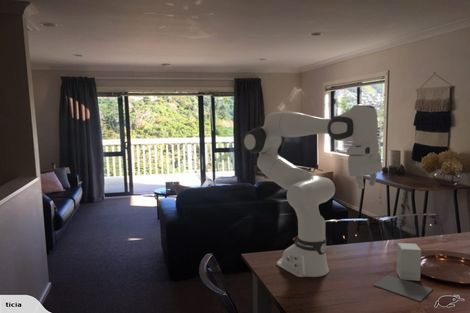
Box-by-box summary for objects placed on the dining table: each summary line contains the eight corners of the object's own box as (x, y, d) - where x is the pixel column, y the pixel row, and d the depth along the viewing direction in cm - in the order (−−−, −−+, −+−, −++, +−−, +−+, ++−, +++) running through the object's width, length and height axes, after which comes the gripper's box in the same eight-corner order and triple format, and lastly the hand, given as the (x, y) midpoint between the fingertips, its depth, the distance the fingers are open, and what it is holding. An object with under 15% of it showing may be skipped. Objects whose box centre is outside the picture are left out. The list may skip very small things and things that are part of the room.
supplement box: (420, 281, 141) (421, 250, 139) (400, 279, 142) (401, 249, 141) (415, 272, 148) (416, 243, 146) (395, 271, 149) (396, 242, 148)
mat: (373, 285, 138) (373, 284, 138) (387, 275, 146) (387, 274, 146) (420, 302, 126) (420, 300, 126) (432, 289, 134) (432, 288, 134)
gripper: (369, 147, 140) (370, 183, 141) (344, 150, 126) (345, 189, 126) (385, 147, 136) (386, 184, 136) (361, 149, 121) (363, 190, 122)
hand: (366, 186), depth 131 cm, fingers open, 8 cm apart
